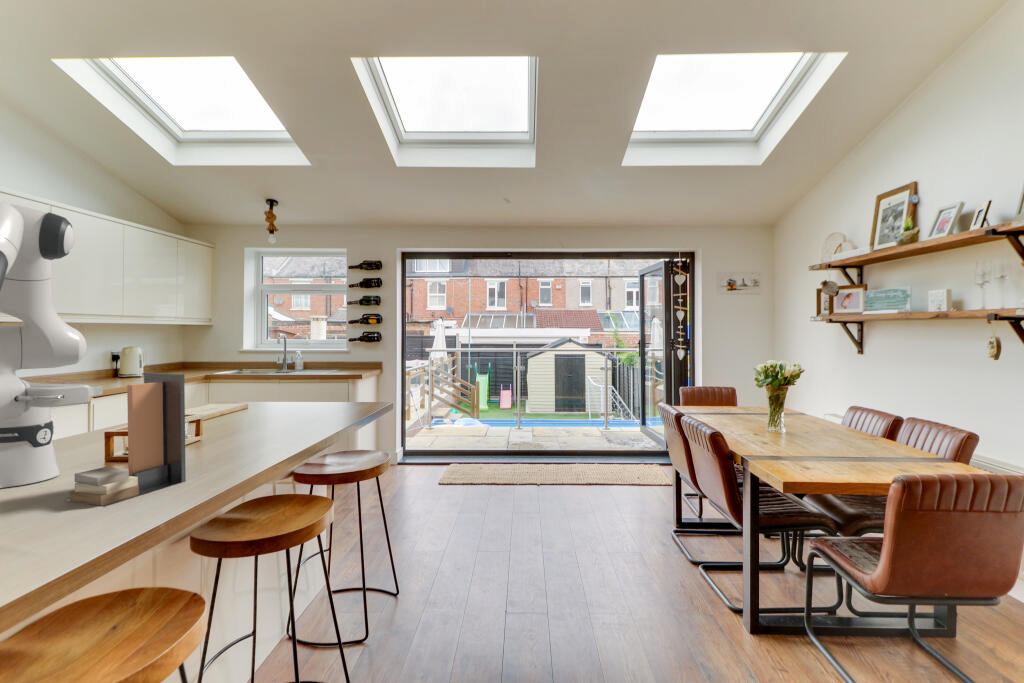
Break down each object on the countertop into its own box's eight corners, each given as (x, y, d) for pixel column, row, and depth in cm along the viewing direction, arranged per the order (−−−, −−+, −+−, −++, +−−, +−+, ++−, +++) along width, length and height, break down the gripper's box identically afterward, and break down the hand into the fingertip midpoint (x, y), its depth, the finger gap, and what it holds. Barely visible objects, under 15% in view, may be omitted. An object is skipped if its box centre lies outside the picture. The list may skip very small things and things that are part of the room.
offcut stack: (101, 505, 102) (101, 479, 102) (70, 500, 105) (69, 474, 105) (139, 493, 110) (139, 469, 110) (109, 489, 113) (109, 465, 113)
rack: (104, 513, 102) (102, 381, 101) (65, 507, 106) (63, 379, 105) (185, 487, 119) (184, 374, 118) (149, 482, 123) (148, 372, 122)
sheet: (133, 489, 113) (132, 385, 112) (128, 489, 113) (127, 385, 112) (163, 481, 119) (162, 382, 119) (158, 480, 120) (157, 382, 119)
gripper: (36, 382, 87) (119, 375, 100) (-35, 379, 93) (52, 374, 106) (37, 417, 87) (120, 406, 100) (-34, 413, 93) (53, 403, 107)
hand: (84, 389), depth 103 cm, fingers open, 8 cm apart
